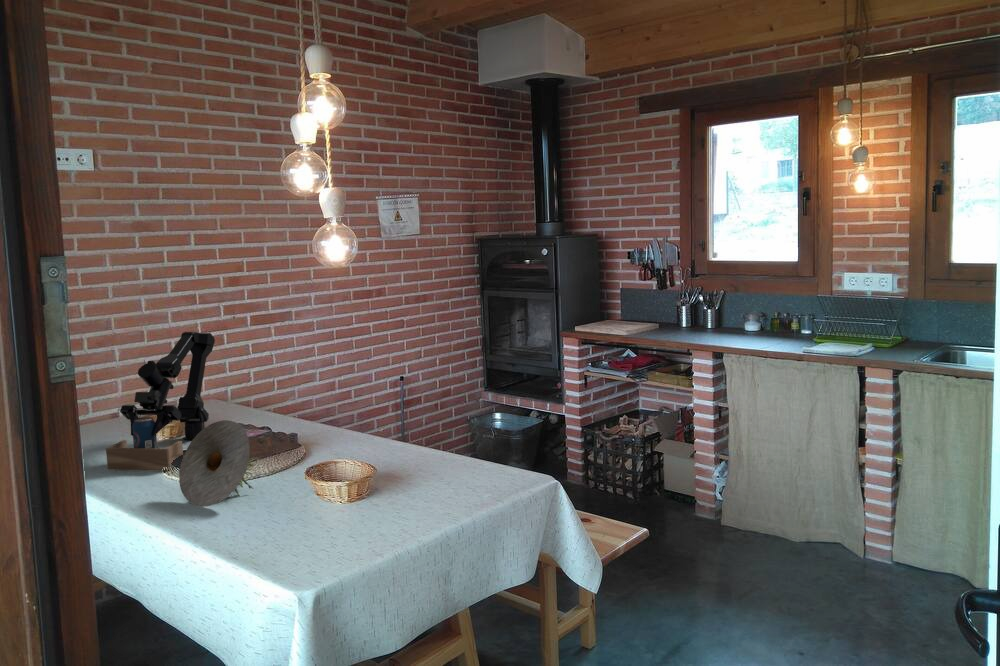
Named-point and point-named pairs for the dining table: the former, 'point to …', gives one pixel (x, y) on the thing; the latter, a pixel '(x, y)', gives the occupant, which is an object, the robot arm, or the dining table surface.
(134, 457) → the wooden u-shaped frame
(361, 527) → the dining table surface
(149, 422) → the soda can
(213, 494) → the disc
